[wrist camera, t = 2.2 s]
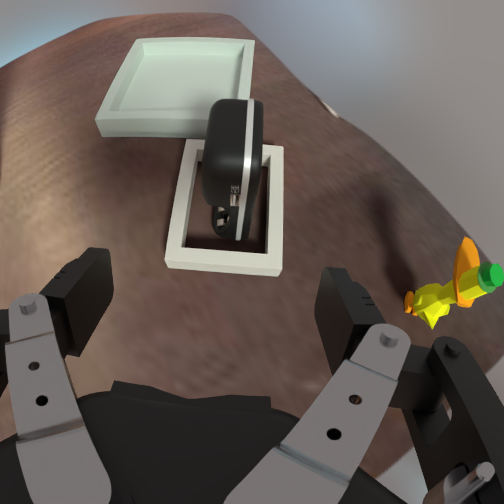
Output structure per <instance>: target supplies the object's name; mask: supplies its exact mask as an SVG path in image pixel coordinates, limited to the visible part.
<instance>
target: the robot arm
mask: <svg viewBox="0 0 504 504" xmlns="http://www.w3.org/2000/svg"><path fill="white" fill-rule="evenodd" d="M113 291H114V285H113V277H112V268H111V258H110V252H109V250H108V249H104V248H93V247H89V248H88V249H87V250H86V251H85V252H84V253H83V254H82V255H81V256H80V257H79V258H78V259H75V260H73V261H71V262H69V263H67V264H66V265H65V266H64V267H63V268H62V269H61V270H60V272H58V273H57V274H56V275H55V276H54V278H52V280H51V281H50V282H49V283H48V284H47V285H46V286H45V287H44V288H43V289H42V290H41V291H40V293H39V294H34V293H32V294H26V295H23V296H20V297H18V298H17V299H15V300H14V301H13V302H12V303H11V304H10V306H9V309H3V310H0V397H1V395H2V393H3V391H4V390H5V388H6V386H7V384H8V382H9V389H10V396H11V402H12V408H13V414H14V419H15V424H16V429H17V433H16V434H14V435H12V436H10V437H9V438H7V439H5V440H3V441H1V442H0V504H407V503H406V502H405V501H403V500H402V499H400V498H399V497H398V496H396V495H395V494H394V493H392V492H391V491H390V490H388V489H387V488H386V487H384V486H383V485H382V484H380V483H379V482H378V481H377V480H375V479H374V478H373V477H371V476H370V475H369V474H368V473H366V472H365V471H364V470H363V469H361V468H360V467H359V466H358V465H359V464H360V462H361V460H362V458H363V456H364V454H365V452H366V450H367V449H368V447H369V445H370V443H371V441H372V439H373V437H374V435H375V433H376V431H377V429H378V427H379V424H380V422H381V420H382V418H383V416H384V414H385V412H386V409H387V407H388V406H389V407H395V408H401V409H402V412H403V414H404V417H405V420H406V423H407V426H408V429H409V432H410V435H411V438H412V441H413V444H414V447H415V450H416V453H417V456H418V459H419V463H420V466H421V469H422V472H423V475H424V479H425V482H426V486H427V489H428V493H427V494H426V495H425V498H424V500H423V504H504V406H503V405H502V403H501V401H500V399H499V397H498V396H497V394H496V392H495V391H494V389H493V387H492V386H491V384H490V382H489V381H488V379H487V378H486V376H485V374H484V373H483V371H482V370H481V368H480V366H479V365H478V363H477V362H476V360H475V359H474V357H473V356H472V354H471V353H470V351H469V350H468V348H467V347H466V346H465V345H464V344H463V343H462V342H460V341H458V340H457V339H454V338H451V337H446V336H443V337H438V338H437V339H435V341H434V343H433V345H432V347H431V348H426V347H421V346H416V345H412V344H411V341H410V338H409V336H408V335H407V334H406V333H405V332H404V331H403V330H401V329H400V328H398V327H395V326H393V325H389V324H387V323H386V322H385V320H384V318H383V317H382V315H381V313H380V311H379V310H378V308H377V306H375V303H374V301H373V300H372V299H371V296H370V295H369V293H368V292H367V290H366V289H365V288H364V287H363V286H361V285H360V284H359V283H358V282H353V281H352V280H351V278H350V276H349V275H348V273H347V271H346V269H344V268H333V267H325V268H324V269H323V272H322V276H321V280H320V285H319V289H318V294H317V298H316V302H315V320H316V323H317V327H318V330H319V333H320V336H321V340H322V343H323V346H324V349H325V353H326V356H327V359H328V363H329V366H330V370H331V373H332V376H333V377H332V378H331V380H330V381H329V382H328V384H327V385H326V387H325V388H324V389H323V391H322V392H321V393H320V395H319V396H318V397H317V399H316V400H315V401H314V403H313V404H312V405H311V406H310V408H309V409H308V410H307V412H306V413H305V414H304V415H303V417H302V418H301V419H299V418H297V417H296V416H294V415H291V414H289V413H287V412H284V411H281V410H278V409H274V408H271V400H270V397H268V396H243V395H225V396H217V397H208V398H199V399H186V398H183V397H180V396H177V395H174V394H171V393H168V392H165V391H162V390H159V389H156V388H153V387H151V386H145V385H138V384H132V383H126V382H120V381H115V380H114V382H113V385H112V388H111V390H110V391H104V392H97V393H92V394H88V395H85V396H82V397H80V398H78V397H77V394H76V391H75V388H74V386H73V383H72V380H71V377H70V374H69V371H68V368H67V365H66V362H65V357H66V355H72V356H76V357H80V355H81V353H82V351H83V350H84V348H85V346H86V344H87V342H88V341H89V339H90V337H91V335H92V333H93V332H94V330H95V328H96V326H97V325H98V323H99V321H100V319H101V318H102V316H103V314H104V313H105V311H106V309H107V307H108V306H109V304H110V302H111V300H112V297H113ZM446 398H447V400H448V402H449V405H450V407H451V410H452V417H451V421H450V420H449V417H448V415H447V412H446V410H445V408H444V406H443V404H442V403H443V402H444V401H445V399H446Z"/></svg>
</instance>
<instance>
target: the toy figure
mask: <svg viewBox="0 0 504 504" xmlns="http://www.w3.org/2000/svg"><path fill="white" fill-rule="evenodd" d="M503 280H504V273H503V269H502V268H501V266H500V265H499V264H490V263H488V262H484V263H482V264H481V265H480V262H479V256H478V252H477V249H476V247H475V245H474V243H473V241H472V240H471V239H469V238H467V237H465V238H464V240H463V243H461V244H460V245H459V246H458V249H457V252H456V257H455V264H454V270H453V279H452V280H451V281H450V282H448V283H447V284H446V285H444V286H443V287H442V286H441V285H440V284H439V283H434V284H428V285H426V286H424V287H421V288H419V289H418V290H416V292H415V295H414V294H413V292H411V291H408V292H407V294H406V296H405V301H404V303H405V312H407V313H410V311H411V309H412V315H415V316H417V315H419V316H420V317H421V318H422V319H423V320H424V321H425V322H426V323H427V324H428V325H429V326H430V327H431V328H432V329H433V327H434V325H435V324H436V322H437V320H438V318H439V317H440V316H443V315H446V314H448V312H449V309H450V306H449V304H452V303H457V305H458V306H461V307H470V306H471V304H472V303H473V301H474V299H475V298H476V297H479V296H481V295H484V294H486V293H491V292H493V291H494V290H495V288H496V286H501V285H502V283H503Z"/></svg>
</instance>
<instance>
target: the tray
mask: <svg viewBox="0 0 504 504" xmlns="http://www.w3.org/2000/svg"><path fill="white" fill-rule="evenodd" d="M254 43H255V40H244V39H229V38H206V37H169V38H146V39H136V41H135V43H134V44H133V46H132V48H131V50H130V51H129V53H128V55H127V57H126V58H125V60H124V62H123V64H122V66H121V67H120V69H119V71H118V73H117V75H116V77H115V79H114V81H113V82H112V84H111V86H110V88H109V90H108V92H107V94H106V96H105V99H104V101H103V103H102V105H101V107H100V109H99V111H98V113H97V116H96V118H95V122H96V124H97V127H98V129H99V131H100V134H101V136H102V137H174V138H198V139H205V137H206V131H207V125H208V119H209V113H210V109H211V107H212V105H213V104H214V103H215V102H216V101H218V100H220V99H242V100H248V99H249V96H250V85H251V74H252V64H253V53H254Z"/></svg>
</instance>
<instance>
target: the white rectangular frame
mask: <svg viewBox="0 0 504 504" xmlns="http://www.w3.org/2000/svg"><path fill="white" fill-rule="evenodd" d="M204 144H205V140H199V139H187V140H186V144H185V149H184V153H183V158H182V163H181V168H180V173H179V178H178V183H177V188H176V194H175V199H174V205H173V210H172V216H171V222H170V228H169V234H168V240H167V247H166V253H165V262H166V264H167V266H168V268H177V269H189V270H201V271H213V272H226V273H238V274H252V275H265V276H278V275H279V274H280V272H281V270H282V246H283V147H282V146H273V145H263V152H262V166H265V167H268V184H267V212H266V239H265V254H259V253H247V252H234V251H221V250H209V249H196V248H185V242H186V235H187V228H188V221H189V214H190V207H191V201H192V194H193V188H194V182H195V176H196V170H197V164H198V161H202V157H203V150H204Z"/></svg>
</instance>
